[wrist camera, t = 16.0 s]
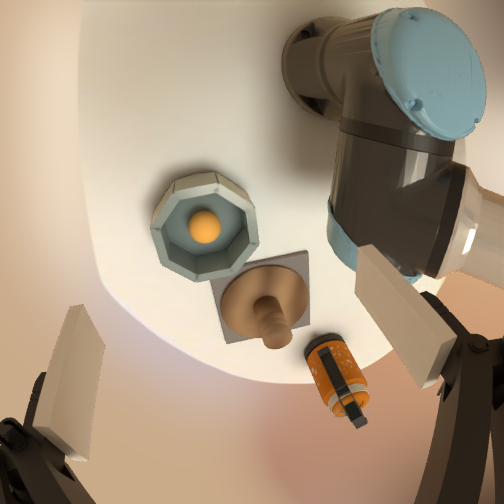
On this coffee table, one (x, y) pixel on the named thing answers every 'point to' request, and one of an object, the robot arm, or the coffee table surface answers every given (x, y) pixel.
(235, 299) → the walnut lid
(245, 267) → the rubber mat
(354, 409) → the canister
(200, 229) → the orange ball
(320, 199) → the coffee table surface
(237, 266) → the slate bowl
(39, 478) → the robot arm
